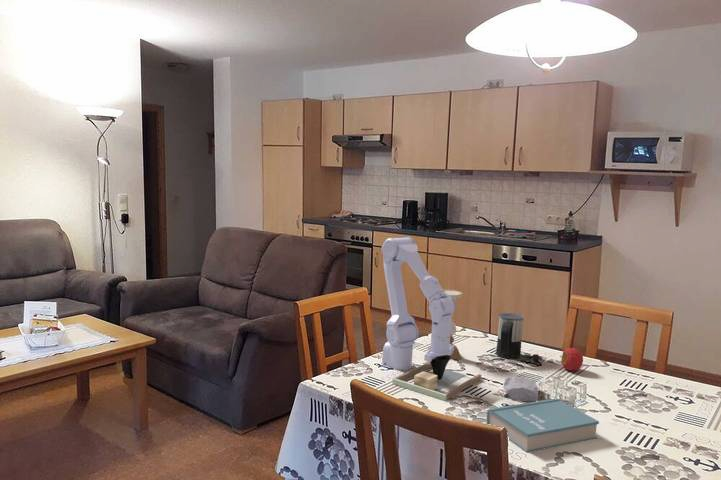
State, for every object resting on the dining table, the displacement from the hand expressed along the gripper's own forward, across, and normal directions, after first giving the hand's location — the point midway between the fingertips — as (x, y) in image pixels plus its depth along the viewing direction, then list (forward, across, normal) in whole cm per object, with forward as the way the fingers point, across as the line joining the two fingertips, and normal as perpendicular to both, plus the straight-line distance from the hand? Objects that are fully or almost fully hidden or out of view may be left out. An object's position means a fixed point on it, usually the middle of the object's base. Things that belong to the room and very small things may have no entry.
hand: (438, 378), depth 174 cm
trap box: (+2, 0, 0) cm, 2 cm away
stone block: (+3, +13, -21) cm, 25 cm away
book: (+3, -8, -36) cm, 37 cm away
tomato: (+3, +45, -26) cm, 52 cm away
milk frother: (+3, +45, -7) cm, 45 cm away
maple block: (+1, -8, 0) cm, 8 cm away
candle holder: (+3, +25, +12) cm, 28 cm away
